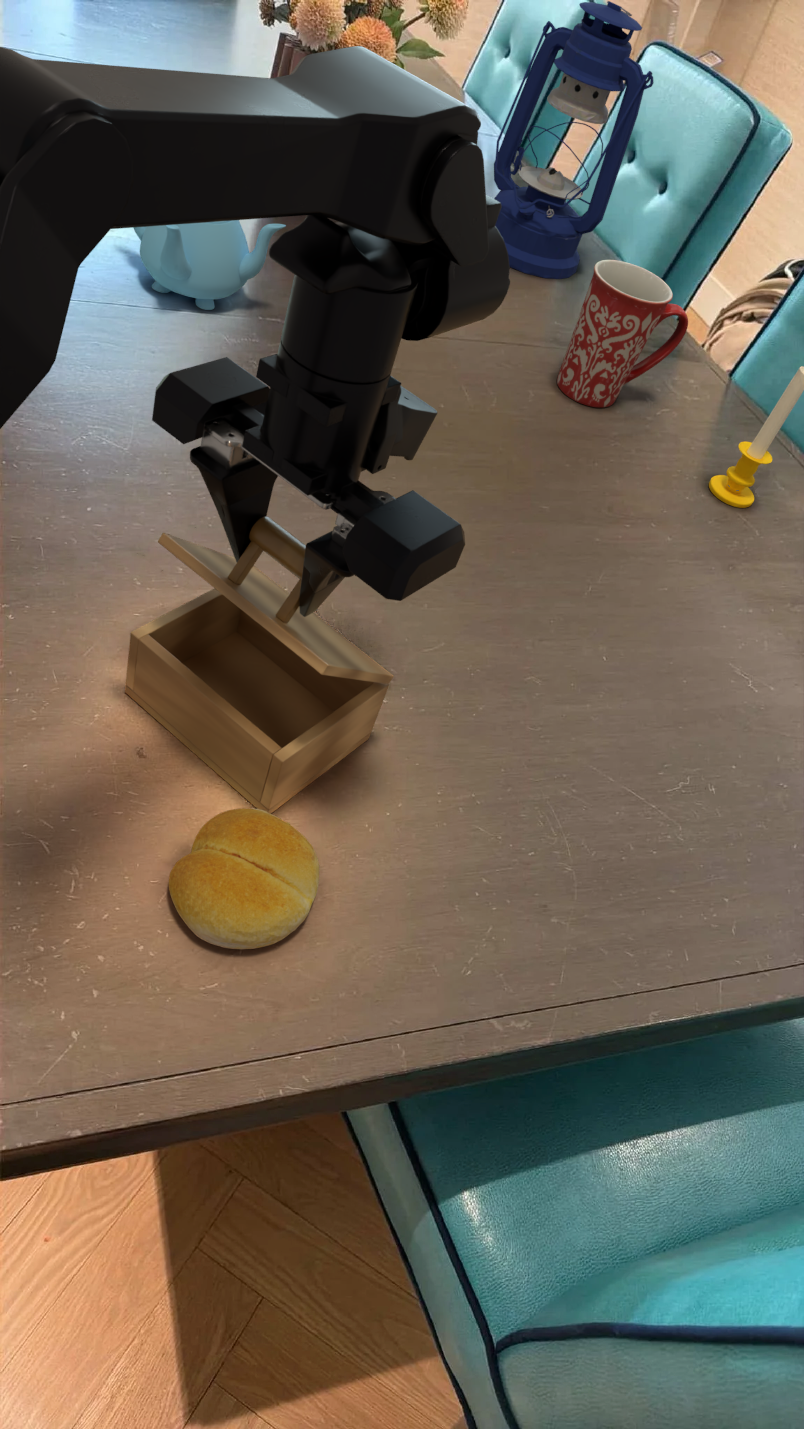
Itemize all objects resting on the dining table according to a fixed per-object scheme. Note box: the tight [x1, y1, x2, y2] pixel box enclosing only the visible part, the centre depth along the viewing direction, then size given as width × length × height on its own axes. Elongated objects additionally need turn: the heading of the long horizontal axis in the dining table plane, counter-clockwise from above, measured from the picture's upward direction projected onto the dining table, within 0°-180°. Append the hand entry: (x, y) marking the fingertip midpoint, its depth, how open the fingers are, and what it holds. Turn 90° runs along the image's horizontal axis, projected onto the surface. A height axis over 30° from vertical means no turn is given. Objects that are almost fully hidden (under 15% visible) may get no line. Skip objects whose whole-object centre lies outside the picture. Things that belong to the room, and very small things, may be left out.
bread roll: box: [168, 808, 320, 950], centre depth 59 cm, size 8×9×4 cm
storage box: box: [124, 587, 390, 814], centre depth 67 cm, size 11×14×6 cm
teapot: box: [132, 220, 287, 311], centre depth 104 cm, size 13×13×10 cm
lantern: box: [493, 0, 655, 280], centre depth 129 cm, size 17×15×30 cm
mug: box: [556, 259, 689, 408], centre depth 112 cm, size 13×9×14 cm
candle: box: [708, 365, 804, 509], centre depth 104 cm, size 5×5×16 cm
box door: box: [157, 515, 394, 685], centre depth 63 cm, size 11×14×5 cm
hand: (276, 588), depth 60 cm, fingers closed on box door, 5 cm apart
